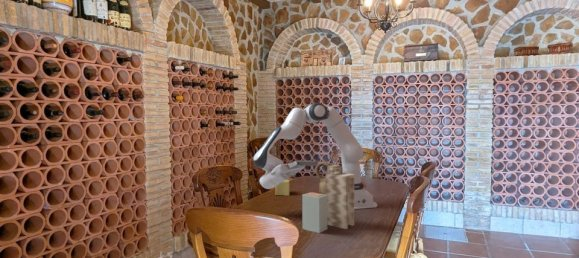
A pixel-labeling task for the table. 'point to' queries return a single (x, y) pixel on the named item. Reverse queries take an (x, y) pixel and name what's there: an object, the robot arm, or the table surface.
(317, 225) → the grey-green upright block
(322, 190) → the ceramic vessel
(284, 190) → the cheese
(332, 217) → the beige patterned tall block
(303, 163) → the strip
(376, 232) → the table surface
